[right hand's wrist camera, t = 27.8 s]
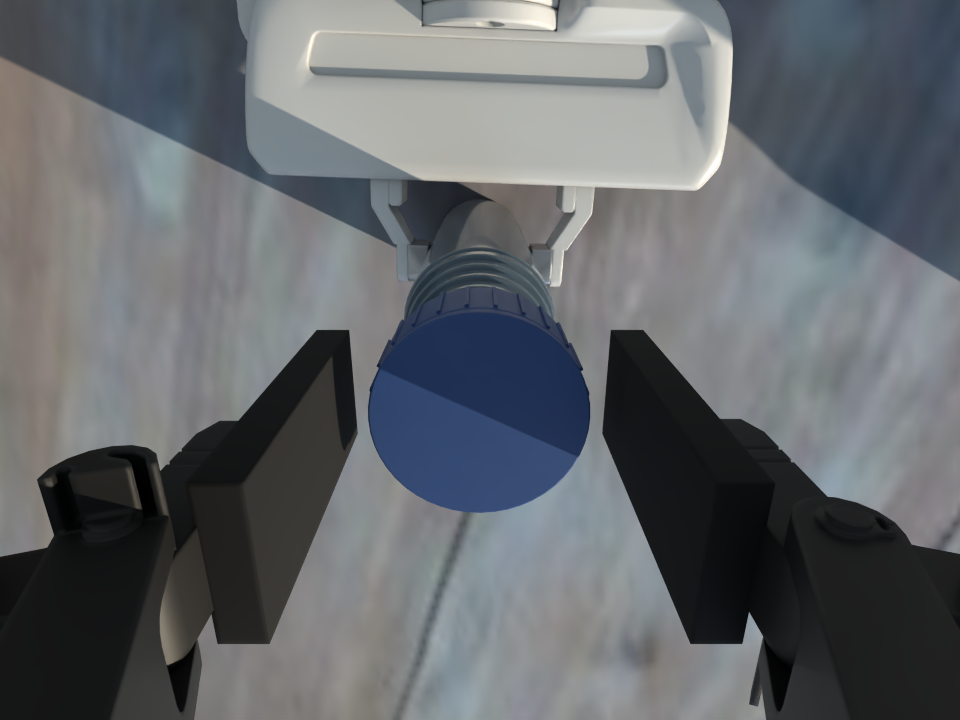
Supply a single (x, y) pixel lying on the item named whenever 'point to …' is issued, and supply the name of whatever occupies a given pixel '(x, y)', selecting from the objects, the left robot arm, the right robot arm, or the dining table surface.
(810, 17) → the dining table surface
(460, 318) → the cap
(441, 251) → the bottle
